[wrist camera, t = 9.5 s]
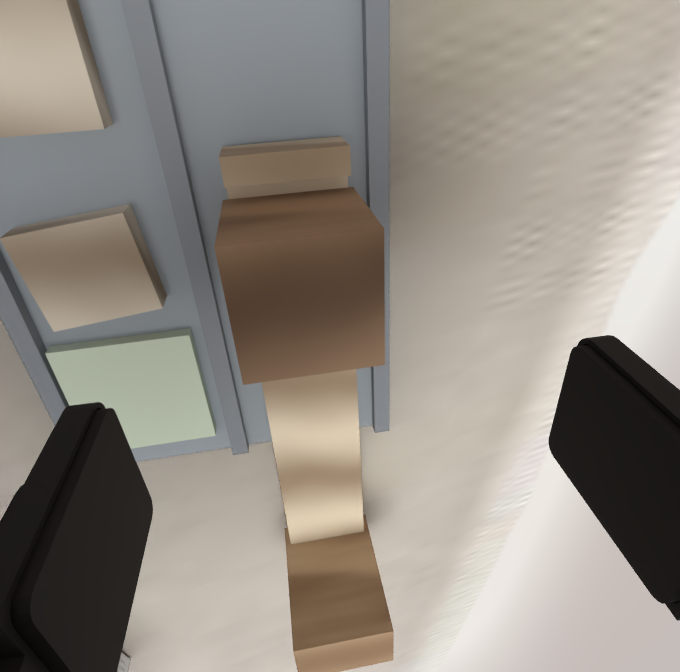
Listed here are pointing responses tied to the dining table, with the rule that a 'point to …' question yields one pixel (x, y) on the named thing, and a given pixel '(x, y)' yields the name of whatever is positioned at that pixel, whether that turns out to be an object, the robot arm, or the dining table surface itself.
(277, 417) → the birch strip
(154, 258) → the slate board
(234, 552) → the dining table surface
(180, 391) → the felt coaster
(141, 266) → the broken strip
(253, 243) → the walnut block
